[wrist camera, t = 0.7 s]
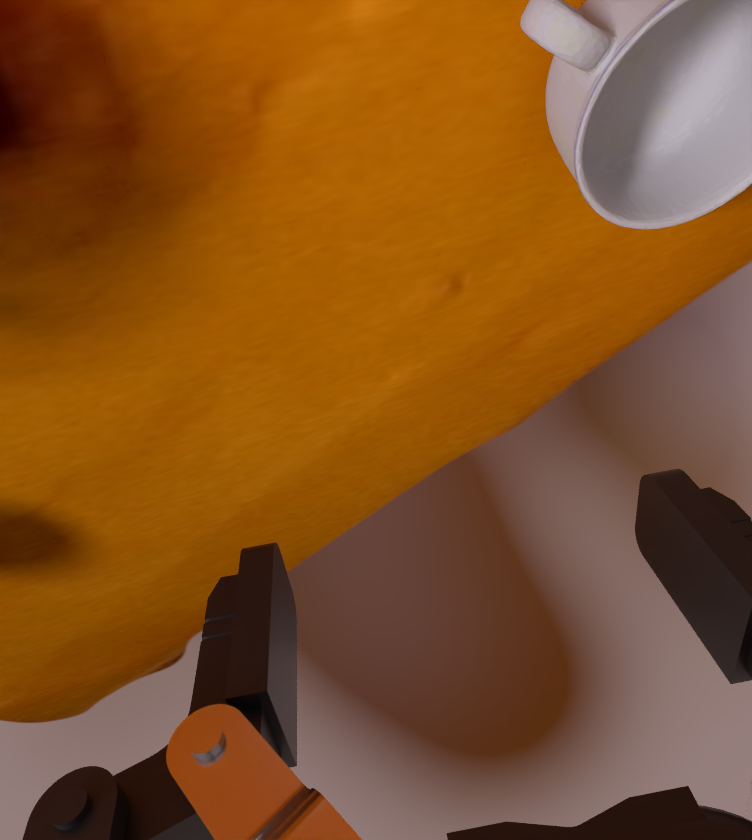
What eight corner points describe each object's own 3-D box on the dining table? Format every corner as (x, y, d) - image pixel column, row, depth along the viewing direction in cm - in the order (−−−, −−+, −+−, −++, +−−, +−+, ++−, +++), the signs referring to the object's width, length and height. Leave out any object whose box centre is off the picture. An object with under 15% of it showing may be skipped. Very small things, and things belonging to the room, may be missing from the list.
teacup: (766, 34, 32) (874, 86, 26) (603, 200, 37) (664, 271, 32) (609, -193, 25) (712, -187, 19) (435, 54, 30) (477, 113, 25)
